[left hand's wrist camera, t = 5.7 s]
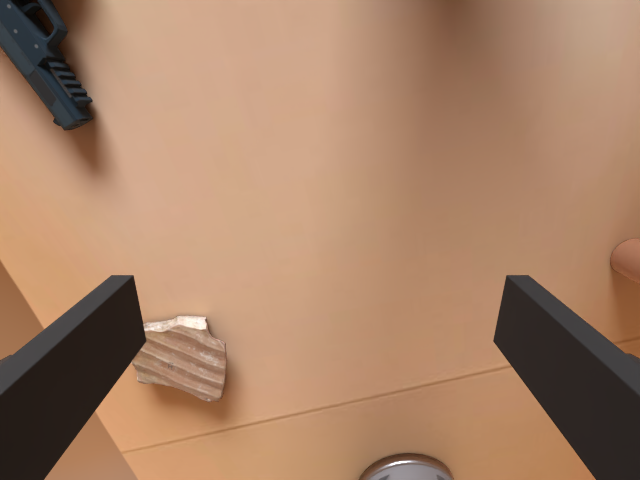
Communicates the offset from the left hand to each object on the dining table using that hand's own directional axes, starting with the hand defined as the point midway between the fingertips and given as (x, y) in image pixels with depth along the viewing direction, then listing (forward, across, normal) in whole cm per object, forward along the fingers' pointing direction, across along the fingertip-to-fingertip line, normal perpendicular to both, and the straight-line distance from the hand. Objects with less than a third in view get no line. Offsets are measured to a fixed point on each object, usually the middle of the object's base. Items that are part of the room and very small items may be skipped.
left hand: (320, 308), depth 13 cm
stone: (+28, +18, +24) cm, 41 cm away
